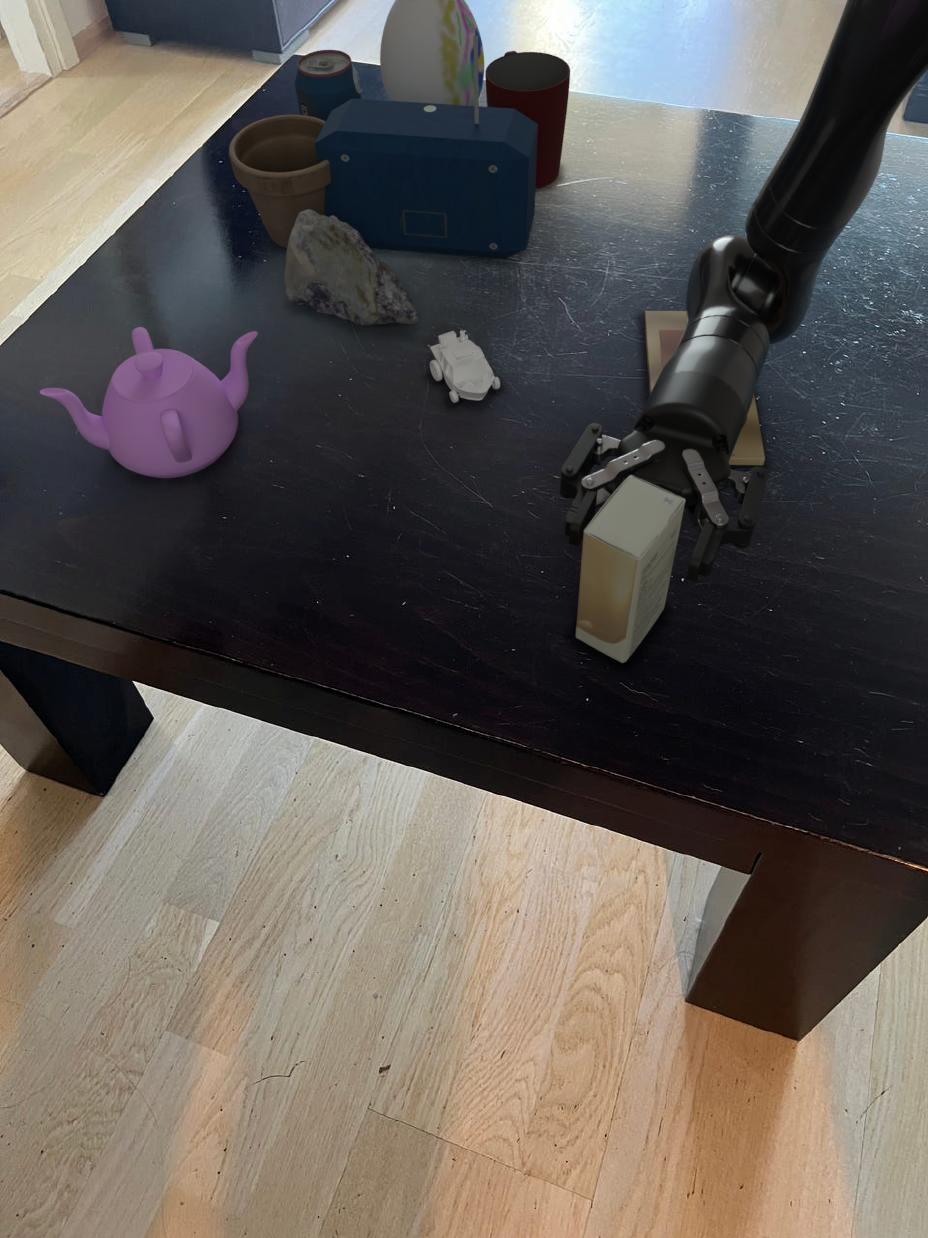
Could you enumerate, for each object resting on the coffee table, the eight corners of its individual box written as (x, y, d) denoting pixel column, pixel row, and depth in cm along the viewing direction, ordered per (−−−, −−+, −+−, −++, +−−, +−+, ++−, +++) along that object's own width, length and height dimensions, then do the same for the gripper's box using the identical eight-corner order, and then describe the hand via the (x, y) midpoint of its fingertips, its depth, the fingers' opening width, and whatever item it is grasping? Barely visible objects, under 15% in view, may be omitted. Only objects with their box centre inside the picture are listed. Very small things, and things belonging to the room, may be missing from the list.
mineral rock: (425, 338, 93) (417, 243, 85) (319, 369, 91) (300, 274, 83) (382, 267, 100) (370, 173, 92) (282, 293, 98) (261, 200, 90)
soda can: (377, 158, 114) (364, 48, 104) (360, 189, 110) (345, 78, 100) (321, 153, 115) (303, 44, 105) (302, 184, 111) (282, 74, 101)
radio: (535, 218, 105) (543, 16, 89) (524, 266, 100) (530, 59, 84) (347, 204, 107) (322, 4, 91) (327, 249, 102) (296, 46, 86)
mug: (471, 146, 114) (468, 46, 105) (544, 134, 115) (546, 34, 107) (499, 199, 107) (498, 96, 98) (575, 185, 108) (581, 82, 99)
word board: (763, 465, 81) (766, 453, 80) (654, 463, 82) (656, 451, 81) (738, 318, 93) (741, 305, 92) (643, 317, 94) (645, 304, 93)
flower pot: (338, 270, 101) (326, 176, 92) (233, 260, 102) (212, 167, 94) (364, 209, 107) (355, 117, 99) (266, 200, 109) (248, 109, 101)
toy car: (471, 351, 92) (469, 314, 88) (510, 401, 87) (510, 363, 84) (425, 367, 91) (421, 330, 87) (462, 418, 86) (460, 381, 83)
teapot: (76, 470, 84) (36, 389, 77) (172, 374, 91) (143, 293, 84) (188, 511, 81) (156, 430, 74) (278, 408, 88) (257, 326, 81)
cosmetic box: (615, 583, 74) (631, 469, 65) (666, 609, 73) (690, 495, 63) (571, 640, 71) (580, 529, 62) (622, 668, 70) (640, 558, 60)
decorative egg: (485, 138, 115) (481, -2, 103) (382, 141, 116) (367, 2, 104) (485, 89, 123) (482, -47, 111) (389, 92, 123) (375, -43, 111)
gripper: (613, 347, 75) (536, 489, 66) (800, 391, 71) (745, 548, 62) (606, 422, 81) (534, 561, 72) (778, 466, 77) (724, 619, 68)
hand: (632, 555), depth 67 cm, fingers open, 8 cm apart
